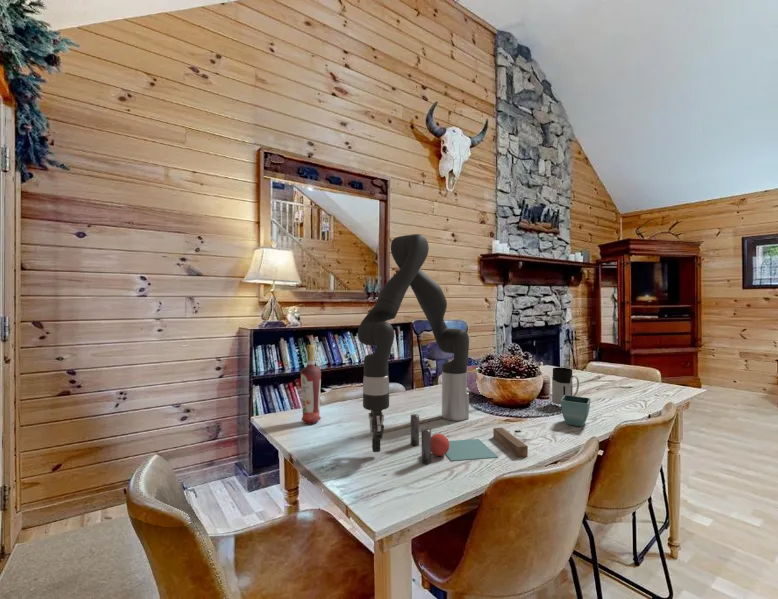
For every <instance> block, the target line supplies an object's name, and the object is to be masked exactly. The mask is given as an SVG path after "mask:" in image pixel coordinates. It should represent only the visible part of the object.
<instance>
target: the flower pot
mask: <svg viewBox="0 0 778 599" xmlns="http://www.w3.org/2000/svg"><path fill="white" fill-rule="evenodd" d="M561 407H562V408H561ZM561 407H560V408H561V414H562V418H563V420H564V422H565V423H566V424H567V425H571V426H575V427H584V425H585V424H586V421H587V418H588V416H589V412H590V408H591V398H590V397H583V396H577V395H576V396H570V395H564V396H563V398H562V399H561Z"/></svg>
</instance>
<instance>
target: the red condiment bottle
mask: <svg viewBox="0 0 778 599" xmlns="http://www.w3.org/2000/svg"><path fill="white" fill-rule="evenodd" d="M315 350H316V349H315V344H307V345H306V351H307V358H306V366H305V367H303V368H301V370H300V387H301V403H302V406H301V407H302V417H301V421H302V422H303V423H304V424H306V423H307V425H314V424H317V423H318V422H319V421H320V420H321V419H322V418H321V416H320V414H321V412H320V407H321V406H320V405H321V401H320V400H321V384H322V383H321V382H322V378H321V377H322V369H321V368H320V367H318V366H316V361H315ZM316 422H317V423H316ZM313 423H314V424H313Z"/></svg>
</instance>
